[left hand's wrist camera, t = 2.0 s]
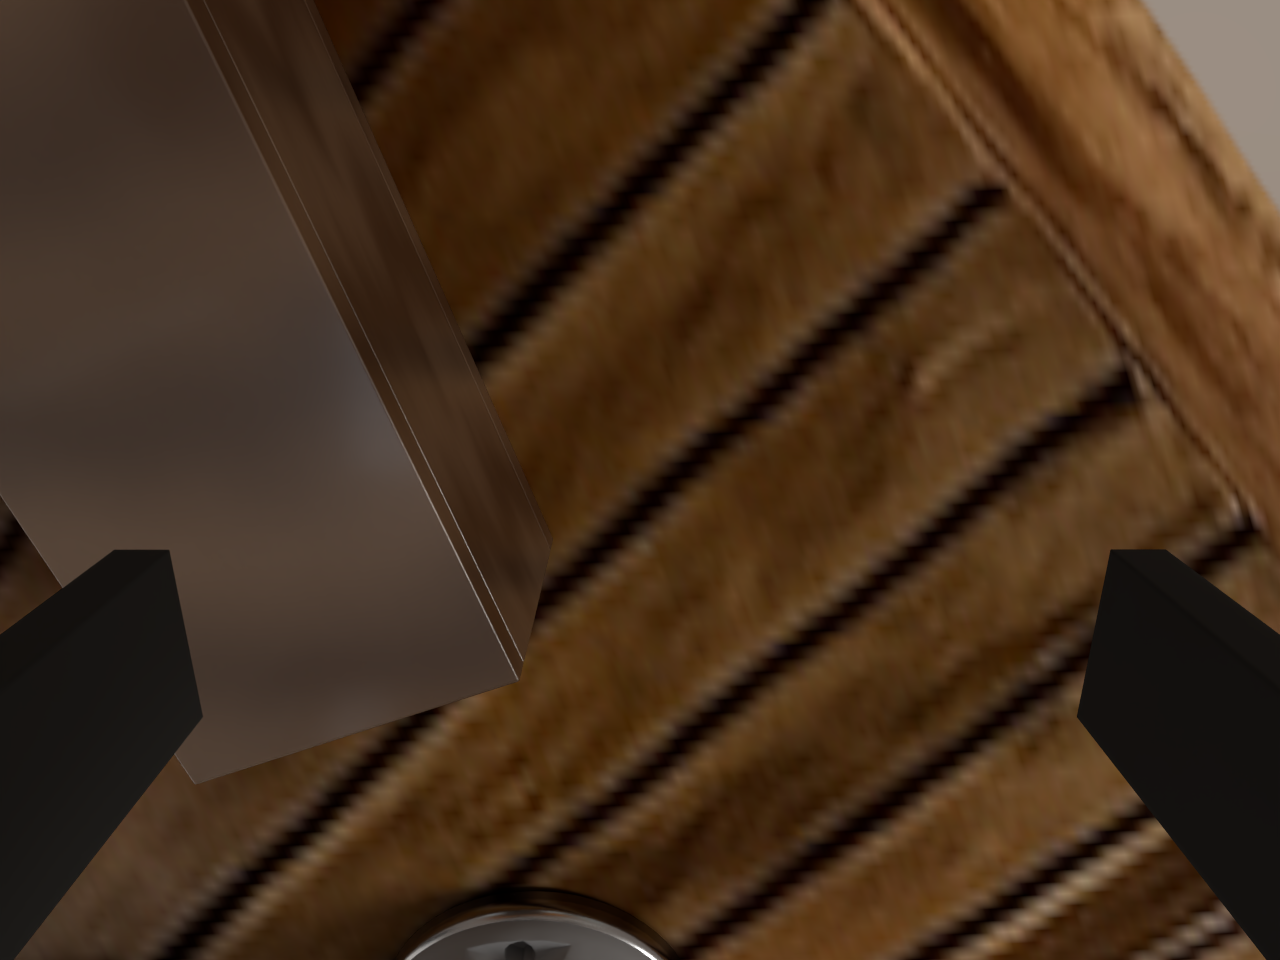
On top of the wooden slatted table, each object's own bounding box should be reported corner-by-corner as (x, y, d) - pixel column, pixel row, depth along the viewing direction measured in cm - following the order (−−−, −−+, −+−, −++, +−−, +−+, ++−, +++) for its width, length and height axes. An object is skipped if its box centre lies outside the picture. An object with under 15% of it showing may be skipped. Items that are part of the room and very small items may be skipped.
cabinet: (-1, 79, 29) (-305, 46, 20) (290, -53, 27) (111, -154, 18) (310, 622, 36) (194, 785, 27) (553, 539, 34) (520, 682, 25)
